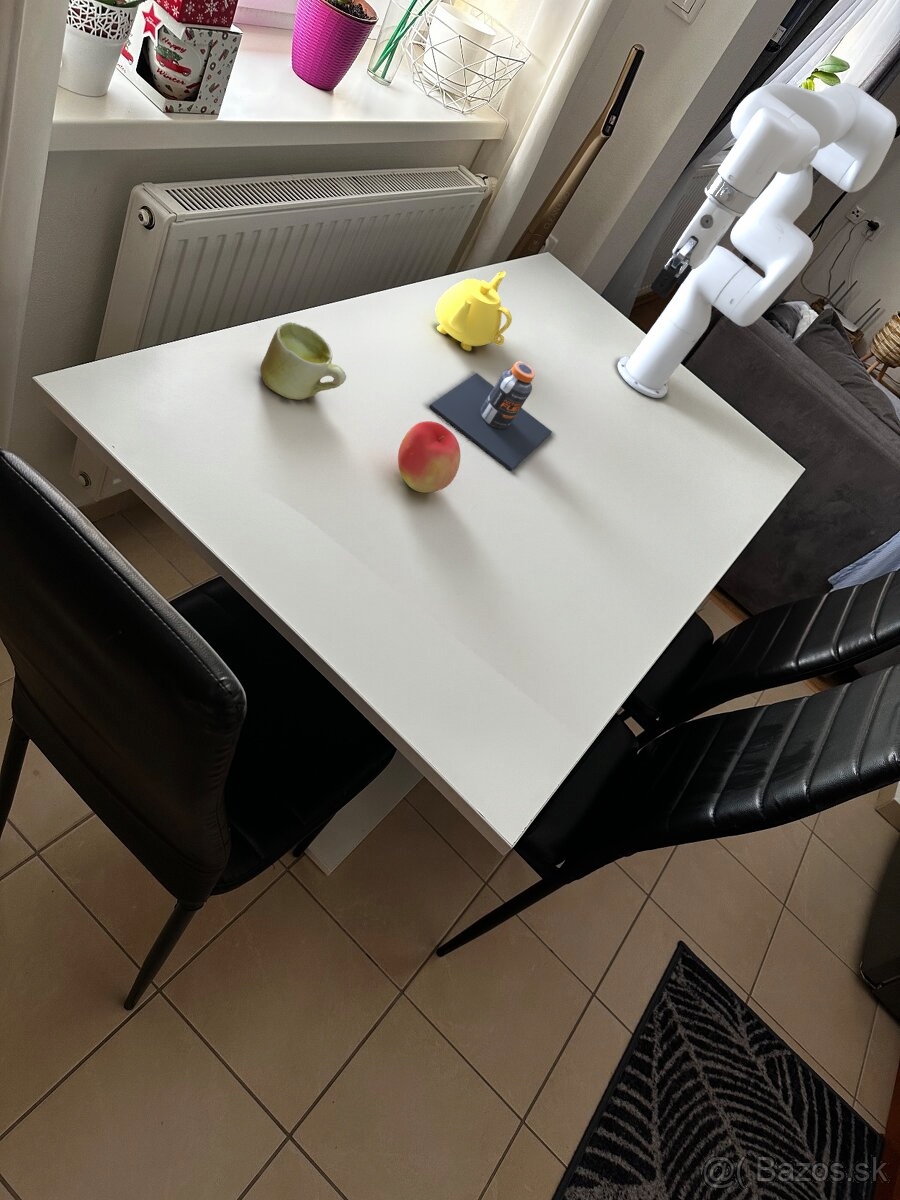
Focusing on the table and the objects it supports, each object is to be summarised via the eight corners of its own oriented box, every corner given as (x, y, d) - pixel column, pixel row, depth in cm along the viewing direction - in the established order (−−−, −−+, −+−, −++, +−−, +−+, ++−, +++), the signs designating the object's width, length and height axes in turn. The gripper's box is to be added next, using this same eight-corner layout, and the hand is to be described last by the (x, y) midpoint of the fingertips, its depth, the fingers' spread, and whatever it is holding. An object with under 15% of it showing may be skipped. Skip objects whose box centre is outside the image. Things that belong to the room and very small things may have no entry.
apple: (376, 481, 129) (402, 432, 122) (399, 451, 136) (425, 403, 129) (430, 515, 129) (459, 468, 123) (451, 484, 136) (479, 438, 130)
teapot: (476, 376, 160) (504, 326, 152) (411, 331, 160) (436, 278, 152) (511, 341, 175) (539, 294, 167) (452, 299, 175) (477, 250, 167)
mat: (475, 375, 160) (476, 372, 160) (550, 433, 159) (552, 431, 159) (428, 406, 147) (430, 404, 147) (510, 471, 146) (512, 468, 146)
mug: (236, 363, 128) (277, 314, 124) (268, 360, 138) (307, 314, 134) (292, 424, 129) (334, 378, 125) (320, 417, 138) (360, 373, 134)
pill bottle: (488, 429, 150) (519, 379, 142) (474, 406, 152) (503, 355, 145) (514, 430, 153) (546, 381, 146) (500, 407, 156) (530, 358, 148)
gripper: (736, 217, 129) (668, 312, 140) (760, 199, 141) (696, 287, 153) (696, 188, 129) (632, 285, 141) (723, 172, 142) (663, 262, 153)
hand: (665, 286), depth 147 cm, fingers open, 9 cm apart
